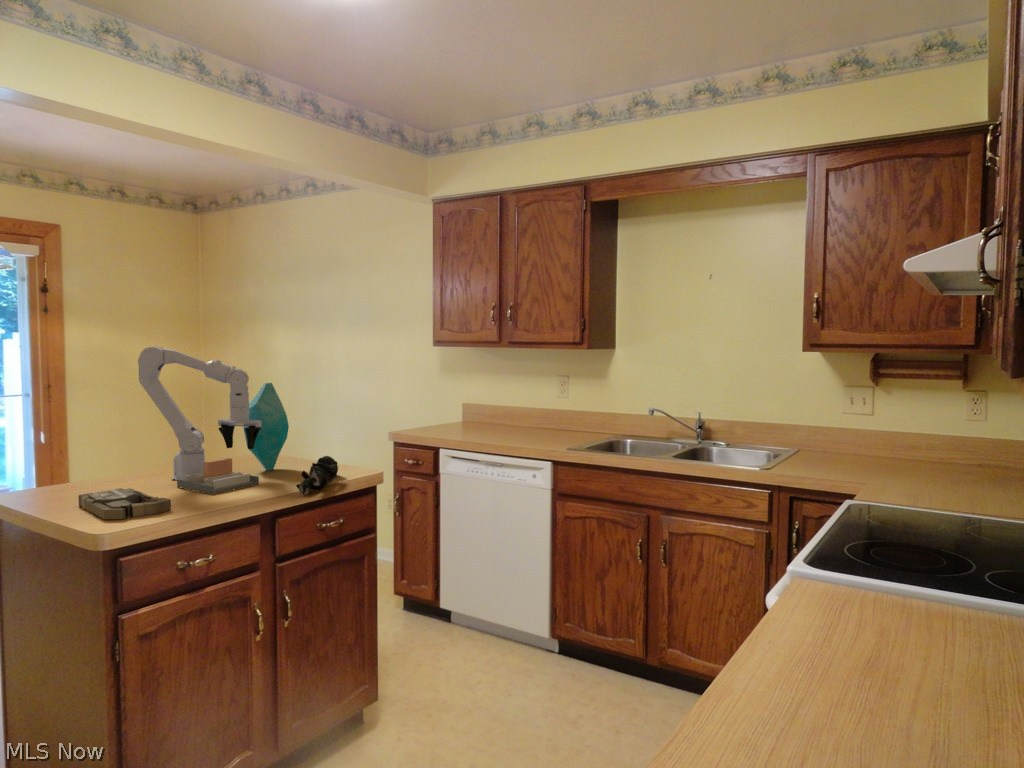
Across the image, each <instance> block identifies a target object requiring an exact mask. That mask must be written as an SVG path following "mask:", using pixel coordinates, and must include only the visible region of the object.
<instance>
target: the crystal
mask: <svg viewBox="0 0 1024 768" xmlns="http://www.w3.org/2000/svg"><path fill="white" fill-rule="evenodd" d="M249 420H258V421H262V427H261V429H260V431H259V433H258V435H257V437H256V440H255V443H254V448H253V449H248V446H247V445H246V446H247V447H246V448H247V449H248V450H249V451H250V452H251V453H252V454H253V455H254V457H255V458H256V459H257V461H258V462H259V463H260V464H261V465H262V467H263V468H264V469H265V470H266V471H267V470H268V471H267V472H271V471H270V470H273V471H274V469H275V467H276V463H277V462H278V461H277V460H278V459H279V455H280V454H281V452H282V449H283V448H284V447H283V446H284V445H285V443H286V441H287V438H288V433H289V421H288V415H287V413H286V410H285V407H284V405H283V403H282V401H281V399H280V397H279V394H278V392H277V390H276V389H275V387H274V385H273V383H272V382H263V384H262V386H261V387H260V389H259V390H258V391H257V393H256V394H255V396H254V397H253V398H252V399H251V400H250V401H249ZM242 427H243V433H244V437H245V442H246V444H247V435H246V431H245V428H248V427H247V426H242Z"/></svg>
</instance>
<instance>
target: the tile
mask: <svg viewBox="0 0 1024 768" xmlns="http://www.w3.org/2000/svg"><path fill="white" fill-rule="evenodd" d="M232 472H233V458H230V457H225V458H217V459H212V460H205V461H204V462H203V474H204V479H205V478H210V477H216V476H221V475H226V474H232Z"/></svg>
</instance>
